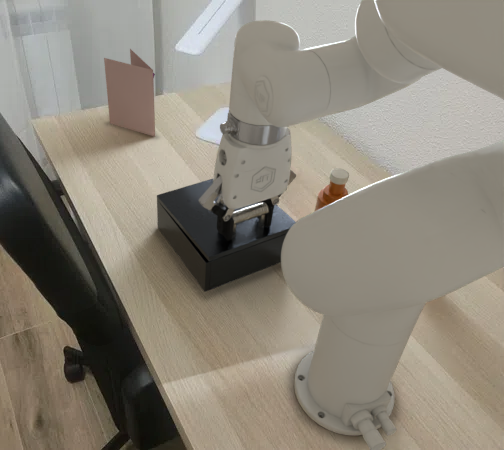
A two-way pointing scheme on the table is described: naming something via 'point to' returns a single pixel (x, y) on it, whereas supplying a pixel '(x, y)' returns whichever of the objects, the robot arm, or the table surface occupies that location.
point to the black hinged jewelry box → (223, 267)
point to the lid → (205, 222)
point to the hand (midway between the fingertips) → (244, 226)
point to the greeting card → (131, 94)
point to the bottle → (333, 188)
